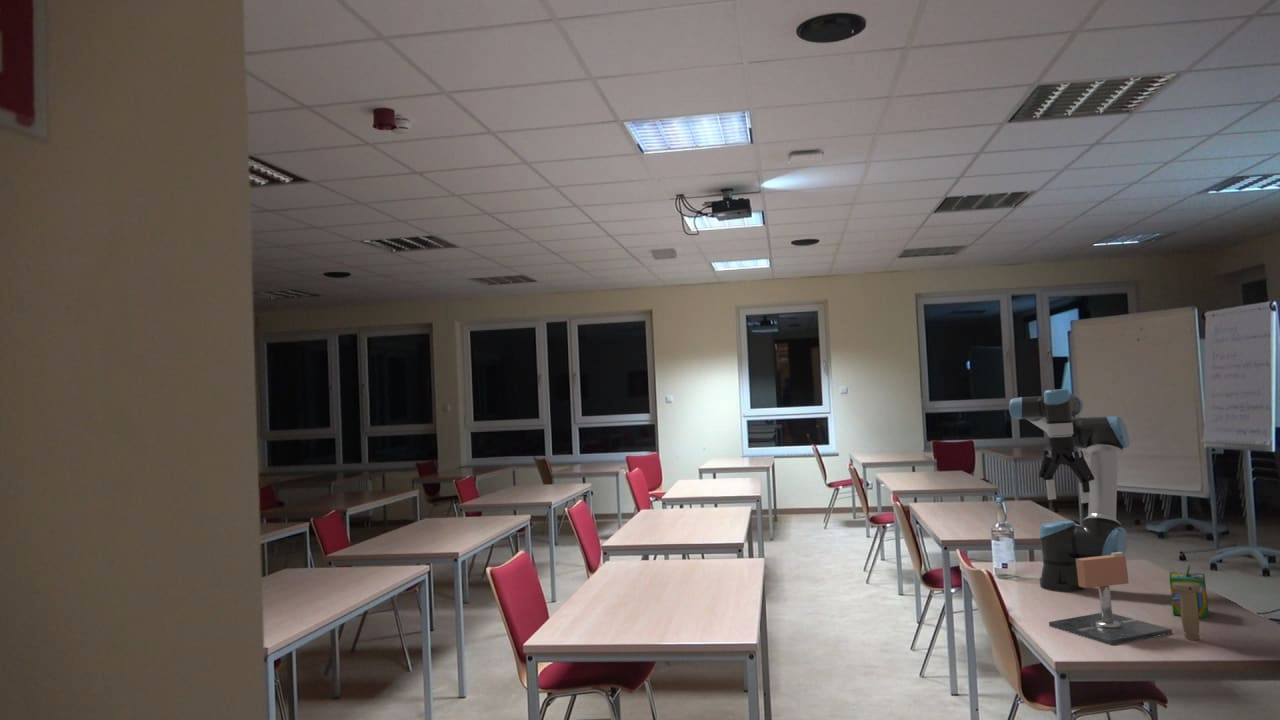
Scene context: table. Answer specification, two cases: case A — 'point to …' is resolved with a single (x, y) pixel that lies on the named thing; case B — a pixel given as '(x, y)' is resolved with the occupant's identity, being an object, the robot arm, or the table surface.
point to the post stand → (1109, 624)
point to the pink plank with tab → (1102, 570)
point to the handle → (1188, 608)
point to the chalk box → (1199, 595)
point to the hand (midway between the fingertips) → (1068, 501)
